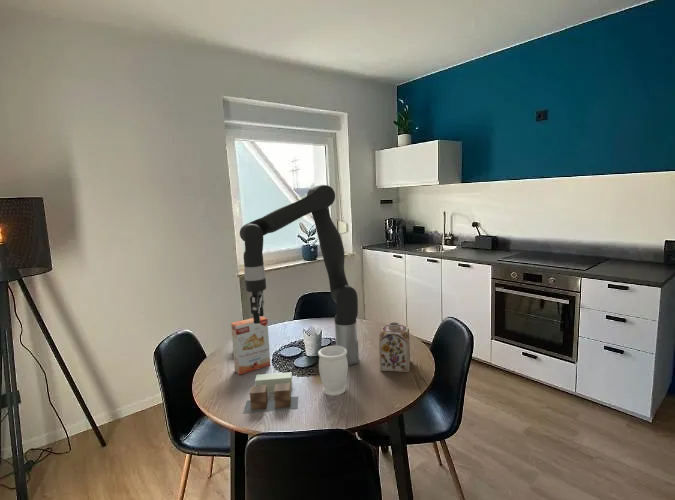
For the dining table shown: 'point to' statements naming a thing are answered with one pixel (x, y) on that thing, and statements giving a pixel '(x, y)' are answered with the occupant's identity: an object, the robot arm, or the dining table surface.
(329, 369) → the jar
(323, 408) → the dining table surface
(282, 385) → the pillar
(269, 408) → the mat
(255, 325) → the cracker box
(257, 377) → the plank
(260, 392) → the pillar
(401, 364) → the decorative jar
